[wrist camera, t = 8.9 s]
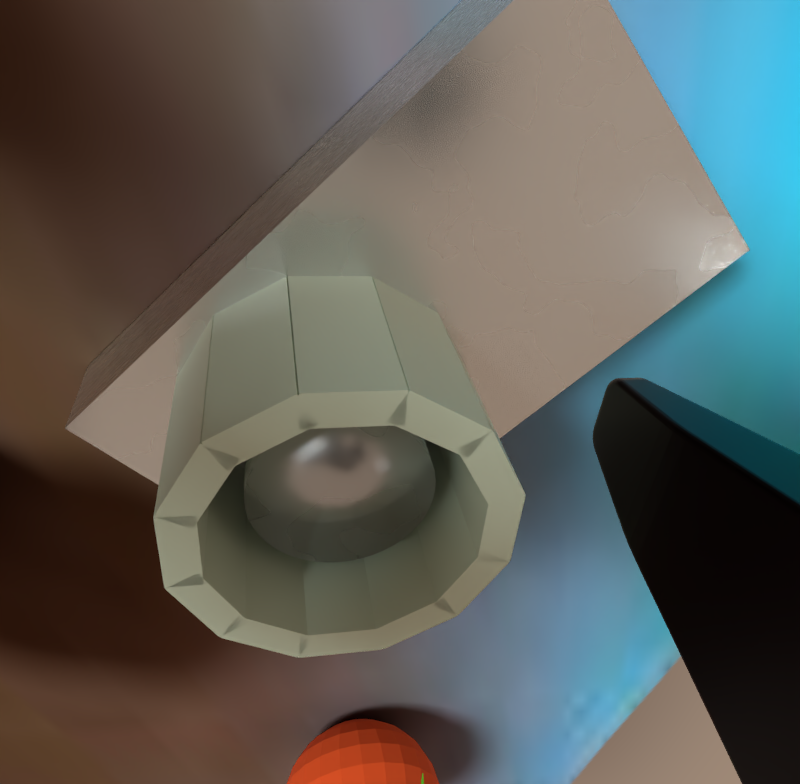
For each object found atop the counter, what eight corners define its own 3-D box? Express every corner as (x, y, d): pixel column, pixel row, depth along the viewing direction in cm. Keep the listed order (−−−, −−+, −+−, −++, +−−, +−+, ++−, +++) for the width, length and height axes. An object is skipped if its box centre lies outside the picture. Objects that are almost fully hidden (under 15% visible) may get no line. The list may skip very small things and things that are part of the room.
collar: (192, 518, 20) (177, 670, 16) (164, 275, 16) (134, 398, 12) (447, 502, 22) (491, 638, 18) (482, 275, 18) (551, 385, 13)
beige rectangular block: (87, 366, 20) (29, 525, 15) (526, -63, 16) (658, -51, 11) (307, 514, 25) (321, 675, 20) (691, 210, 21) (840, 311, 16)
